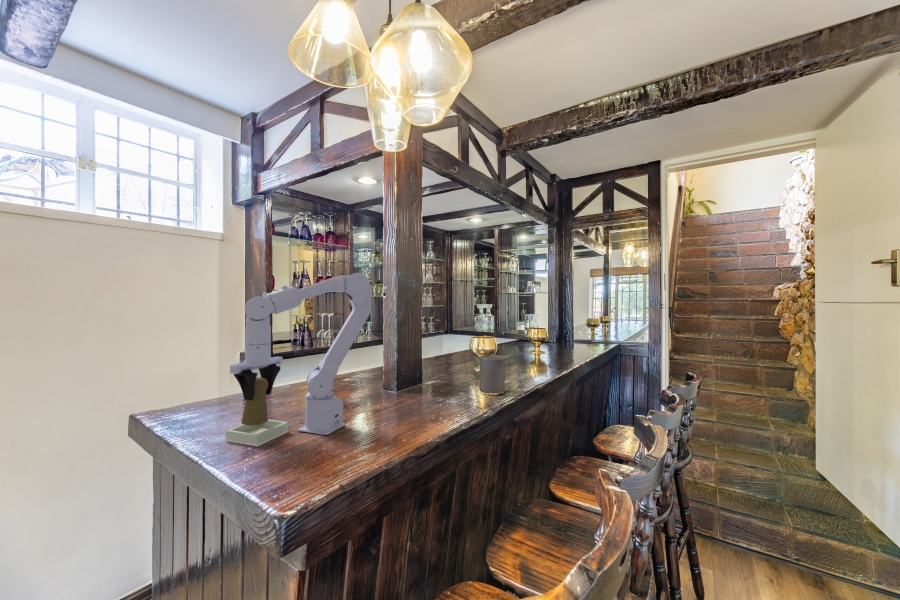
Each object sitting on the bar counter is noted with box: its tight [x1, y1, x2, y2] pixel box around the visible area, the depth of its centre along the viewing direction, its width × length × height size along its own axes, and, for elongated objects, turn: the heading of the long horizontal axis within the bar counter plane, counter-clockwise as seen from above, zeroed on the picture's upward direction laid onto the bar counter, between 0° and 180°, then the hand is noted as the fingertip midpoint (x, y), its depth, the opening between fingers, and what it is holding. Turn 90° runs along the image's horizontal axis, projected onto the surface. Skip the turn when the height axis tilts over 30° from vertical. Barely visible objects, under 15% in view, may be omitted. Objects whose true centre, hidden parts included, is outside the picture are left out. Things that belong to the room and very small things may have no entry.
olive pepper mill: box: [240, 377, 269, 425], centre depth 91 cm, size 6×6×11 cm
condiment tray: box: [225, 418, 289, 448], centre depth 91 cm, size 10×10×3 cm
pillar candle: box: [478, 354, 506, 393], centre depth 136 cm, size 10×10×15 cm
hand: (258, 396), depth 91 cm, fingers closed on olive pepper mill, 5 cm apart
